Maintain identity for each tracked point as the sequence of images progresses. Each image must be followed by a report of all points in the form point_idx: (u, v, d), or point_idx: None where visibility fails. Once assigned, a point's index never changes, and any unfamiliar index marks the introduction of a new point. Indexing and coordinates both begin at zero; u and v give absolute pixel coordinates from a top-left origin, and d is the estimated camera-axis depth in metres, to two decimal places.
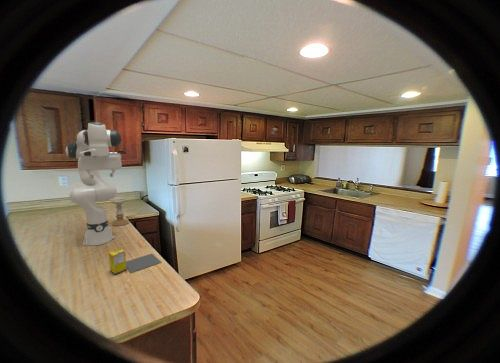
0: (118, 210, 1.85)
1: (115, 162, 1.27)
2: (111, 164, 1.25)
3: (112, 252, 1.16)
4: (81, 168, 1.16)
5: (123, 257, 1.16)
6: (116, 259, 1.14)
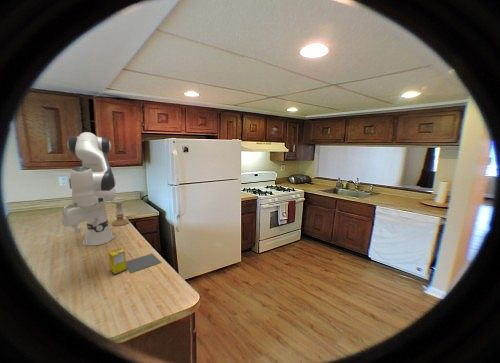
0: (118, 210, 1.85)
1: None
2: None
3: (112, 252, 1.16)
4: None
5: (123, 257, 1.16)
6: (116, 259, 1.14)
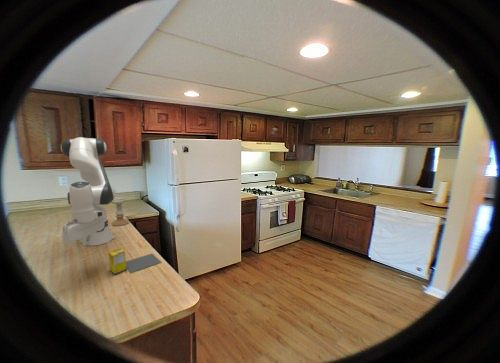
0: (118, 210, 1.85)
1: None
2: None
3: (112, 252, 1.16)
4: None
5: (123, 257, 1.16)
6: (116, 259, 1.14)
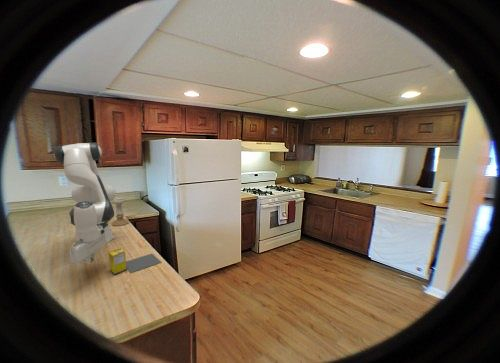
0: (118, 210, 1.85)
1: None
2: None
3: (112, 252, 1.16)
4: None
5: (123, 257, 1.16)
6: (116, 259, 1.14)
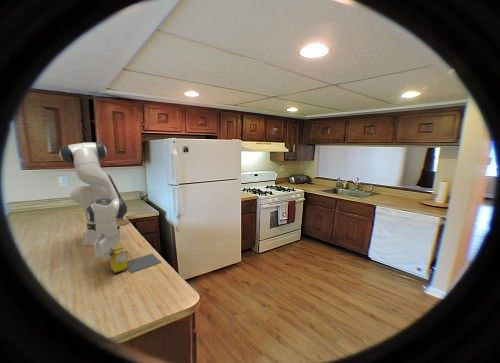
0: None
1: None
2: None
3: (115, 250, 1.17)
4: None
5: (125, 256, 1.17)
6: (118, 257, 1.15)
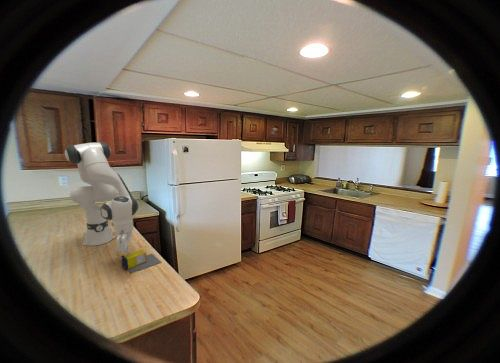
0: None
1: None
2: None
3: None
4: None
5: (141, 261, 1.24)
6: (141, 256, 1.24)
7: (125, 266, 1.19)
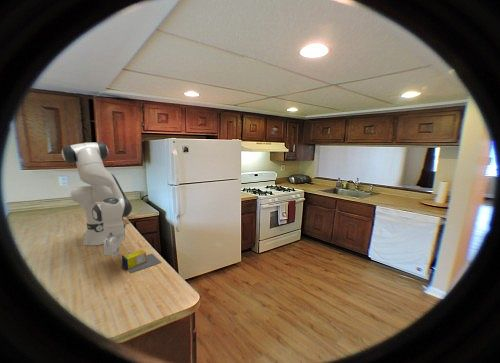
0: None
1: None
2: None
3: None
4: None
5: (141, 261, 1.24)
6: (141, 256, 1.24)
7: (125, 266, 1.19)
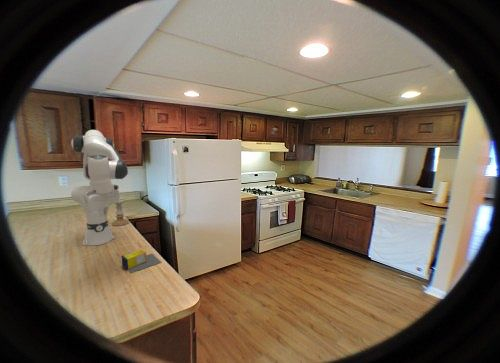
0: (118, 210, 1.85)
1: None
2: None
3: None
4: None
5: (141, 261, 1.24)
6: (141, 256, 1.24)
7: (125, 266, 1.19)
